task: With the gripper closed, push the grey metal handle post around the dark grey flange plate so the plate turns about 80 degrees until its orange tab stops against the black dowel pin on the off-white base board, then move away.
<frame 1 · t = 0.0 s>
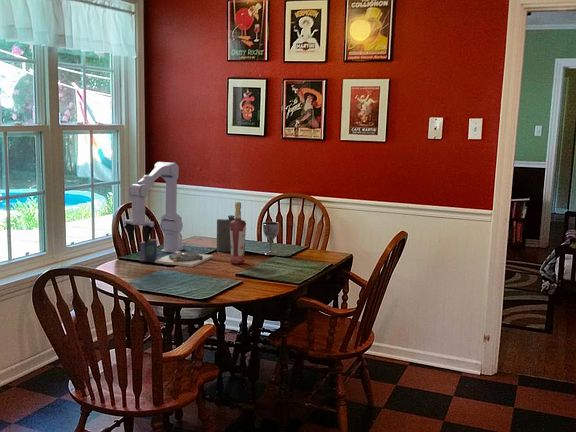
hand: (139, 241, 272), 10 cm above the table, tool pointing down, fingers open, 7 cm apart
wine glass: (270, 253, 299), on the table
liquor: (237, 264, 277), on the table
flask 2: (148, 260, 280), on the table
flange plate: (183, 253, 280), point 3 cm above the table, hinge at 0.0°
base board: (184, 259, 281), on the table
flask: (230, 251, 301), on the table
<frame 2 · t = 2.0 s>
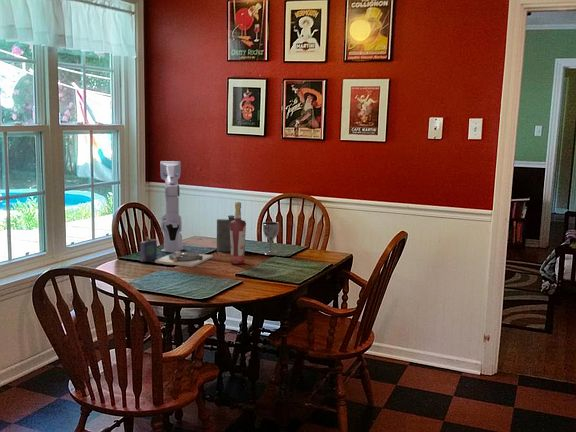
hand: (172, 240, 280), 9 cm above the table, tool pointing down, fingers closed
nothing on the table moved.
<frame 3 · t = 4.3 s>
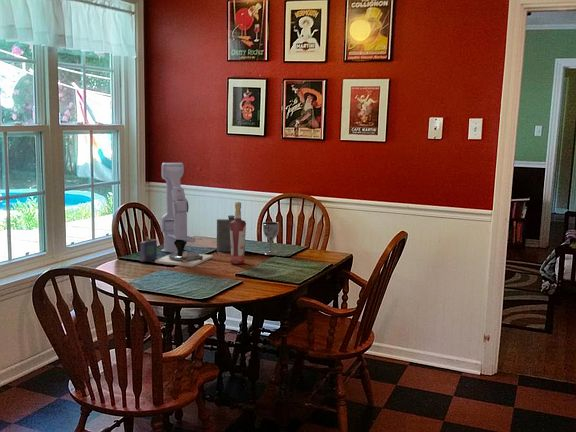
hand: (180, 256, 276), 3 cm above the table, tool pointing down, fingers closed, pressing on flange plate
flange plate: (184, 253, 280), point 3 cm above the table, hinge at 29.9°, touching gripper
everything else where it was.
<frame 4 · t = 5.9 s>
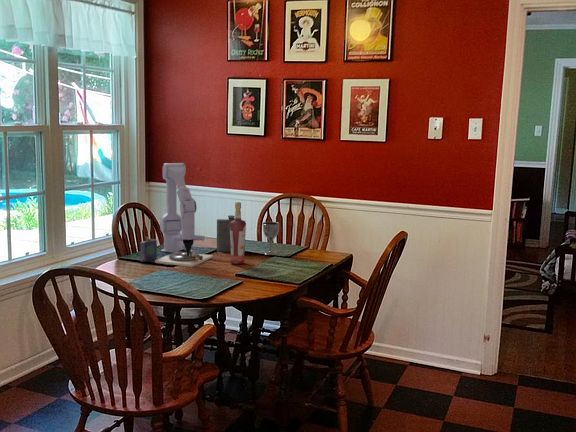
hand: (188, 256, 276), 3 cm above the table, tool pointing down, fingers closed
flange plate: (185, 253, 280), point 3 cm above the table, hinge at 71.4°, touching gripper
everything else where it was.
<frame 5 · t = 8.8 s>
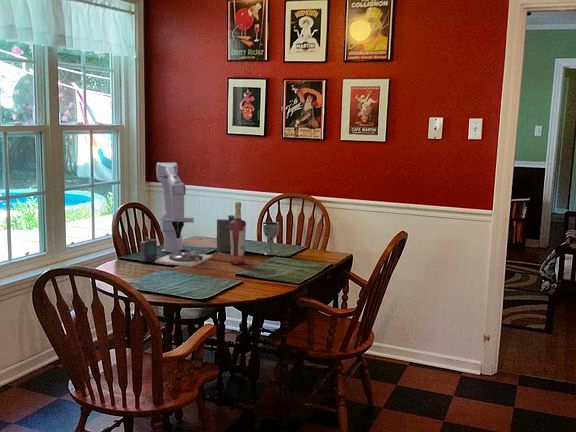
hand: (178, 237, 284), 9 cm above the table, tool pointing down, fingers closed
flange plate: (185, 253, 280), point 3 cm above the table, hinge at 71.4°
everything else where it was.
at the end: flange plate at +71° (first picture: +0°); the gripper is holding nothing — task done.
